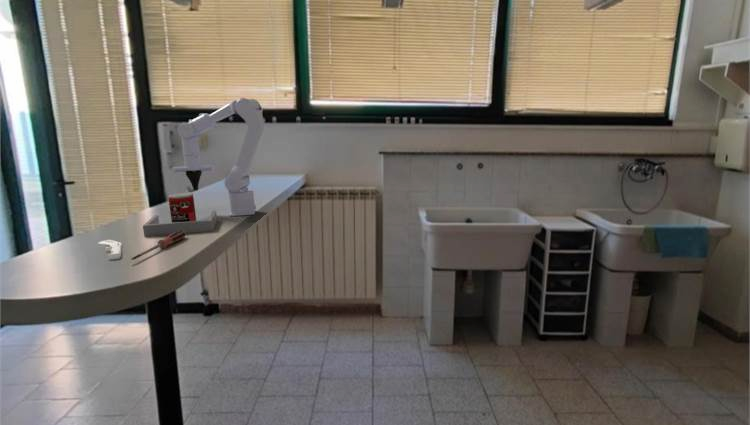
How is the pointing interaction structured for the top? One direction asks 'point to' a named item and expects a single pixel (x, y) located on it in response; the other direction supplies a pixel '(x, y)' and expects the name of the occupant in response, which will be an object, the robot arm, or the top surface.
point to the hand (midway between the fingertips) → (196, 190)
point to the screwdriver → (165, 242)
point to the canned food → (182, 207)
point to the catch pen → (178, 226)
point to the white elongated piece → (113, 249)
